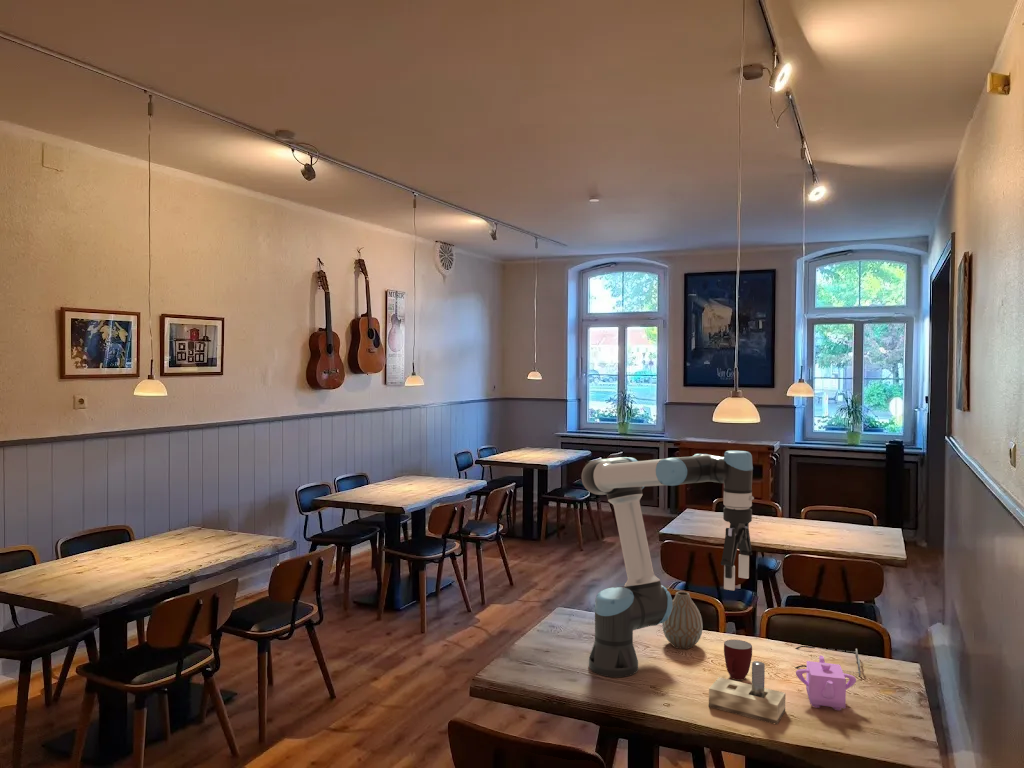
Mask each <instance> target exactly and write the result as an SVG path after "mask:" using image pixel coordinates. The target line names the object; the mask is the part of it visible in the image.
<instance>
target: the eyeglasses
mask: <svg viewBox="0 0 1024 768" xmlns="http://www.w3.org/2000/svg"><path fill="white" fill-rule="evenodd" d="M801 648H808V649H816V647H815V646H810V645H800V646H798V647H795V648H794V649H796V650H799V649H801ZM819 649H822V650H825V648H824V647H823V648H822V647H819ZM829 650H832V651H834V649H833V648H829ZM838 651H841V652H844V650H843V649H842V650H841V649H838ZM847 652H848V653H853V651H852V650H851V651H850V650H847ZM854 654H855V659H856V662H855V663H856V664H857V671H856V674H857V673H858V677H861V660H860V657H859V652H858V648H855V651H854ZM802 667H803V668H805V667H806V668H807V664H806V665H804V664H801V665H798V666H796V667H794V668H795V669H799V668H802ZM842 671H843V672H845V670H844V669H842ZM847 672H850V673H851V672H852V673H853V671H851V670H847Z"/></svg>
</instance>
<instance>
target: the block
mask: <svg viewBox="0 0 1024 768" xmlns="http://www.w3.org/2000/svg"><path fill="white" fill-rule="evenodd" d="M708 707H709V708H713V709H717V710H720V711H725V712H728V713H731V714H735V715H740V716H741V717H742V716H743V717H747V718H751V719H754V720H757V721H761V720H762V722H765V721H766V722H765V723H769V722H770V723H769V724H773V723H775V724H774V725H778V724H779V723H780V721H781V719H782V717H783V716H784V714H785V712H786V692H783V691H779V690H774V689H770V688H766V687H764V698H761V697H757V696H753V695H752V684H751V683H745V682H741V681H739V680H735V679H729V678H724V677H721V676H718V678H717V679H715V681H714V682H713V683H712V684H711V685H710V687H708ZM779 720H780V721H779Z"/></svg>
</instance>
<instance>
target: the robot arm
mask: <svg viewBox="0 0 1024 768" xmlns="http://www.w3.org/2000/svg"><path fill="white" fill-rule="evenodd" d="M723 455H724V456H719V455H715V454H713V455H712V454H708V453H694V455H692V456H681V457H680V456H678V457H673V456H672V457H667V458H659V459H648V460H647V459H646V460H637V459H636V458H635V457H630V456H629V457H627V456H622V457H621V456H620V457H610V458H598V459H597V458H596V459H592V461H590V462H588V463H587V464H586V465H585V466H583V469H582V472H581V482H582V486H583V487H584V488H585V489H586V490H587V491H588V492H590V493H591V494H594V495H596V496H597V495H599V496H604V495H605V496H606V498H607V502H608V503H610V504H612V506H613V509H614V510H613V511H614V516H615V521H616V525H617V530H618V536H619V541H620V546H621V551H622V552H621V553H622V556H623V562H624V567H625V571H626V577H627V580H626V582H625V583H624V586H623V587H621V586H617V587H608V588H604V589H602V590H600V591H599V592H598V593H597V595H596V596H595V604H594V607H593V608H594V641H593V646H592V648H591V650H590V653H589V656H588V668H589V670H591V671H592V672H594V673H596V674H597V675H602V676H604V677H613V678H623V677H629V676H632V675H634V674H636V673H637V672H638V671H639V659H638V657H637V652H636V650H635V646H634V644H633V643H634V641H633V640H634V639H633V638H634V633H633V632H634V631H637V630H641V629H645V628H648V627H654V626H658V625H659V624H662V623H663V622H665V621H666V620H667V619H668V618H669V616H670V614H671V612H672V606H673V605H672V600H673V598H672V595H671V592H670V591H668V588H667V587H665V585H662V583H661V579H660V578H658V577H657V576H656V575H655V573H654V568H653V563H652V557H651V553H650V547H649V543H648V538H647V533H646V528H645V522H644V517H643V512H642V508H641V503H640V501H641V498H642V496H643V489H644V488H645V487H657V486H658V487H659V486H671V487H674V486H679V485H686V484H699V483H706V482H713V483H717V484H718V483H719V484H723V505H724V507H723V510H722V511H723V514H722V515H723V516H722V517H723V518H722V519H723V521H725V522H726V523H729V527H725V535H724V536H725V537H724V542H723V551H722V555H721V561H720V565H721V566H723V590H727V591H728V590H729V591H735V590H736V588H735V587H736V566H735V561H736V555H737V551H738V550H739V554H738V575H737V576H738V578H741V579H746V580H747V579H749V578H750V556H752V555H753V551H752V549H753V548H752V543H751V542H752V541H751V536H750V535H751V534H750V529H749V528H750V527H749V526H750V525H749V523H752V520H753V519H752V517H753V509H752V508H751V507H752V506H753V503H752V502H753V501H754V499H755V497H754V496H753V488H752V485H753V472H754V471H753V470H754V466H753V455H752V454H751V452H750V451H746V450H733V449H732V450H726V451H724V453H723Z"/></svg>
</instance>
